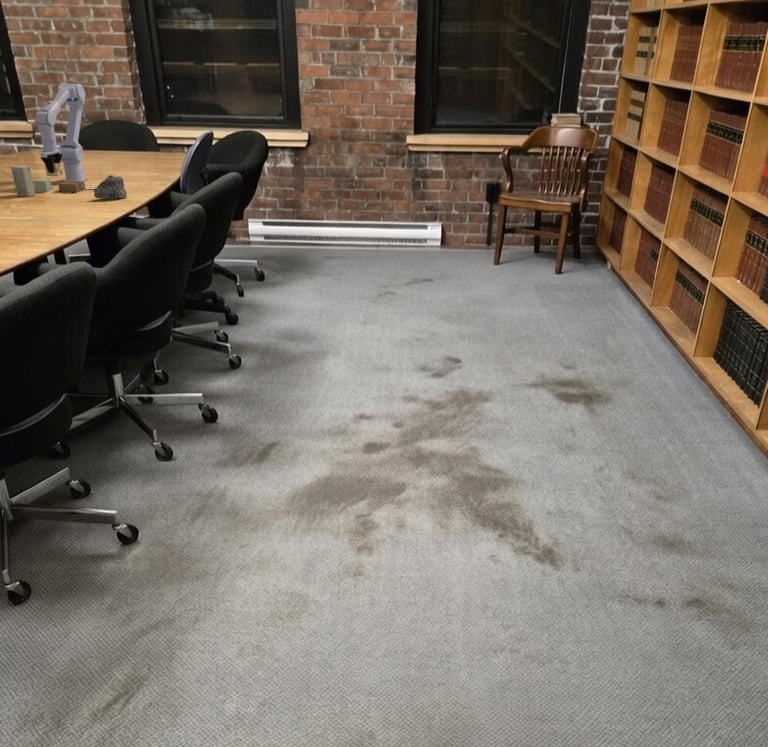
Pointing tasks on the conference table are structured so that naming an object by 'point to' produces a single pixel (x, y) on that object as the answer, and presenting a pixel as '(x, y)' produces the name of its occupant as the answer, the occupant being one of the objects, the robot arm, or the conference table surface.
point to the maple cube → (55, 170)
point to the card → (91, 187)
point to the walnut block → (72, 186)
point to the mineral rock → (110, 188)
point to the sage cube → (43, 185)
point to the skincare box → (23, 180)
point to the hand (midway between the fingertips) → (54, 171)
